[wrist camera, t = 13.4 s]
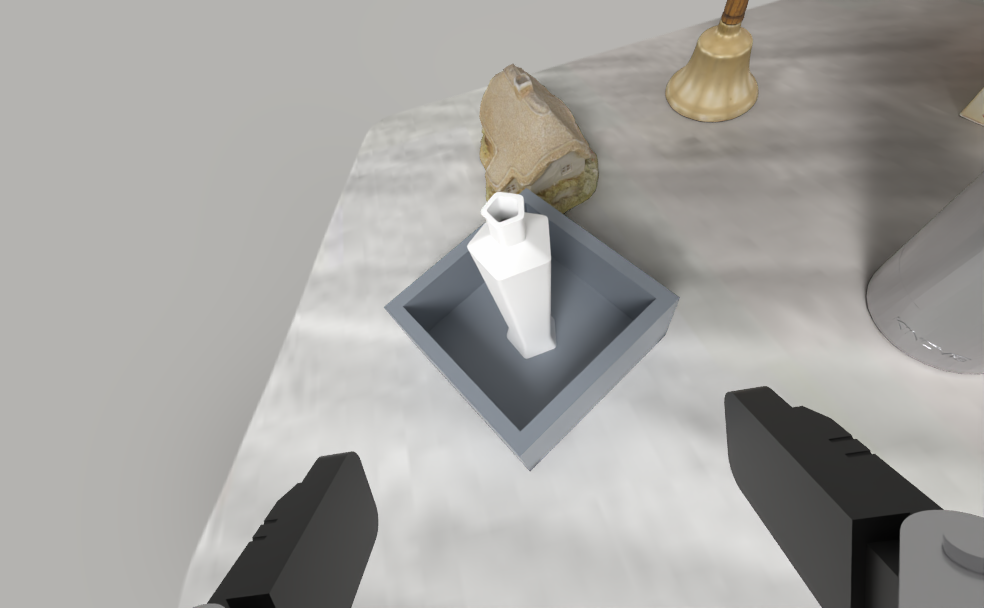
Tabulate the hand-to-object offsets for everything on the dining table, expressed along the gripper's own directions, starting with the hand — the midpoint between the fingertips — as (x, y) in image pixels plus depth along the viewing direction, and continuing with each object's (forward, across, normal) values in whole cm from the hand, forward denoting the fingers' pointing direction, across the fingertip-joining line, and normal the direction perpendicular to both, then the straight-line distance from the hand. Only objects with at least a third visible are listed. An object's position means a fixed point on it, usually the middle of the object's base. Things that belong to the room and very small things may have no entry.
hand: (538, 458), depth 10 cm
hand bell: (+41, -21, -8) cm, 47 cm away
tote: (+25, 0, +7) cm, 26 cm away
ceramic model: (+38, -2, -5) cm, 38 cm away
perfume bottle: (+24, 0, +7) cm, 25 cm away
